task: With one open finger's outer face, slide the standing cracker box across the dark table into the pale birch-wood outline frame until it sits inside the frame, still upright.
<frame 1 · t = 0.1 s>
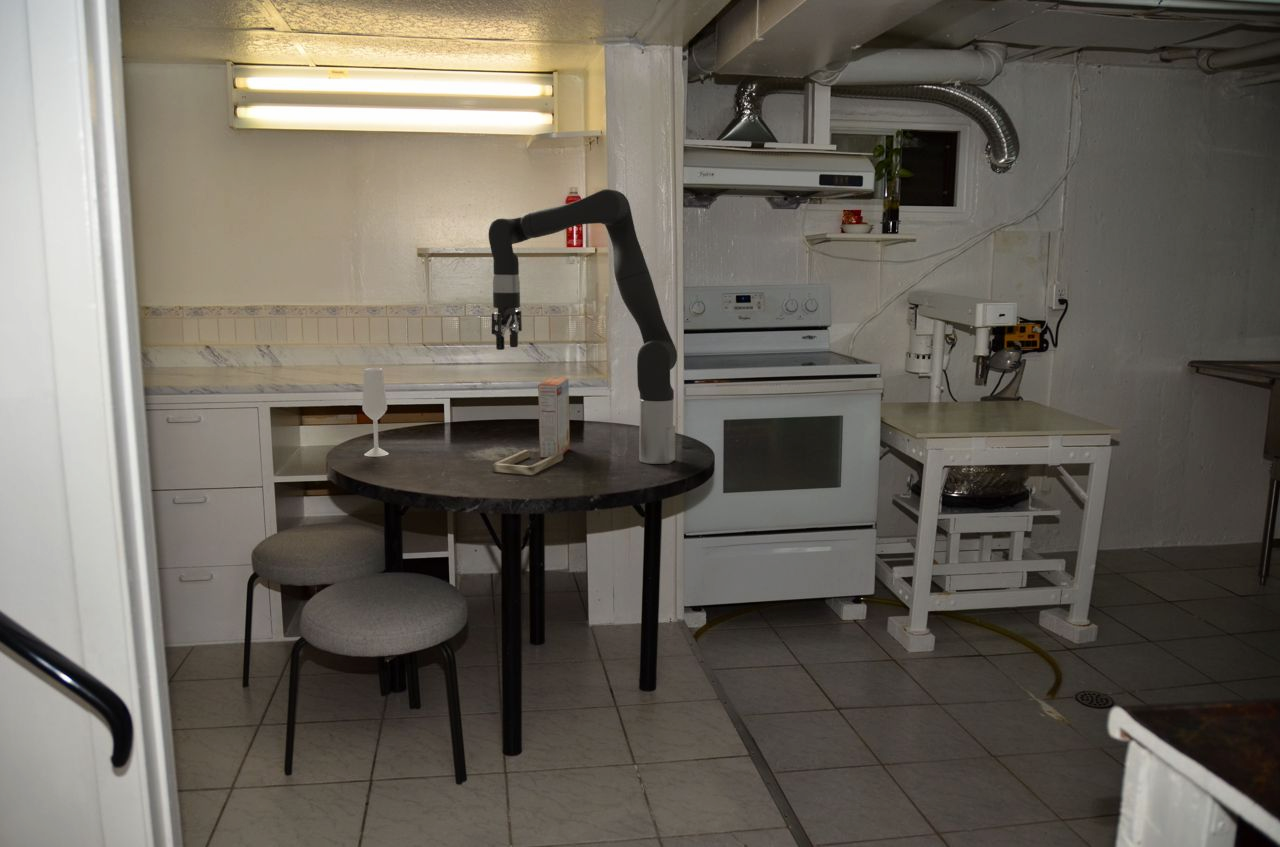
hand: (507, 348, 280), 29 cm above the table, fingers open, 8 cm apart
cracker box: (554, 454, 279), on the table
outline frame: (528, 465, 263), on the table
champagne flute: (376, 454, 276), on the table
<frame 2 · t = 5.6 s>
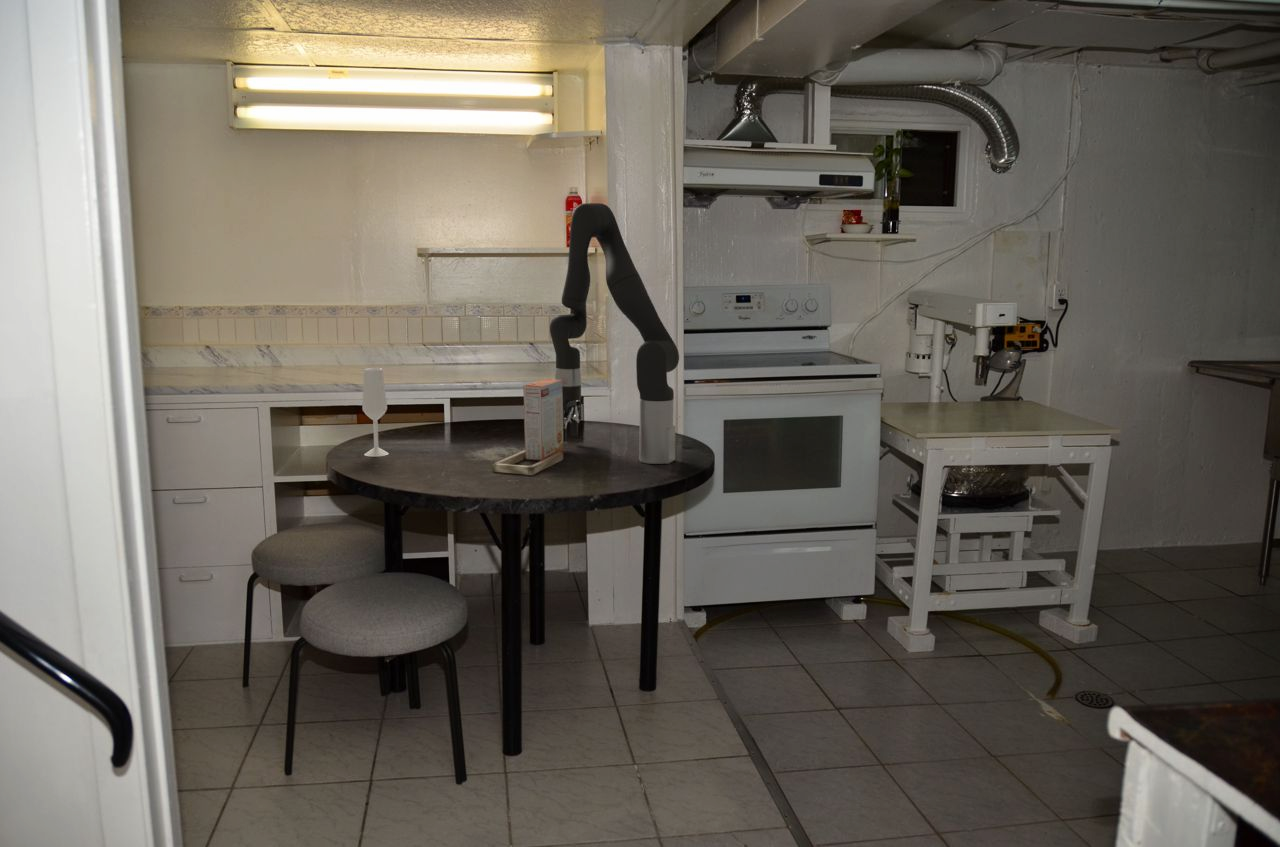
hand: (568, 438, 288), 3 cm above the table, fingers open, 8 cm apart
cracker box: (544, 456, 276), on the table, touching gripper, hand
everything else where it was.
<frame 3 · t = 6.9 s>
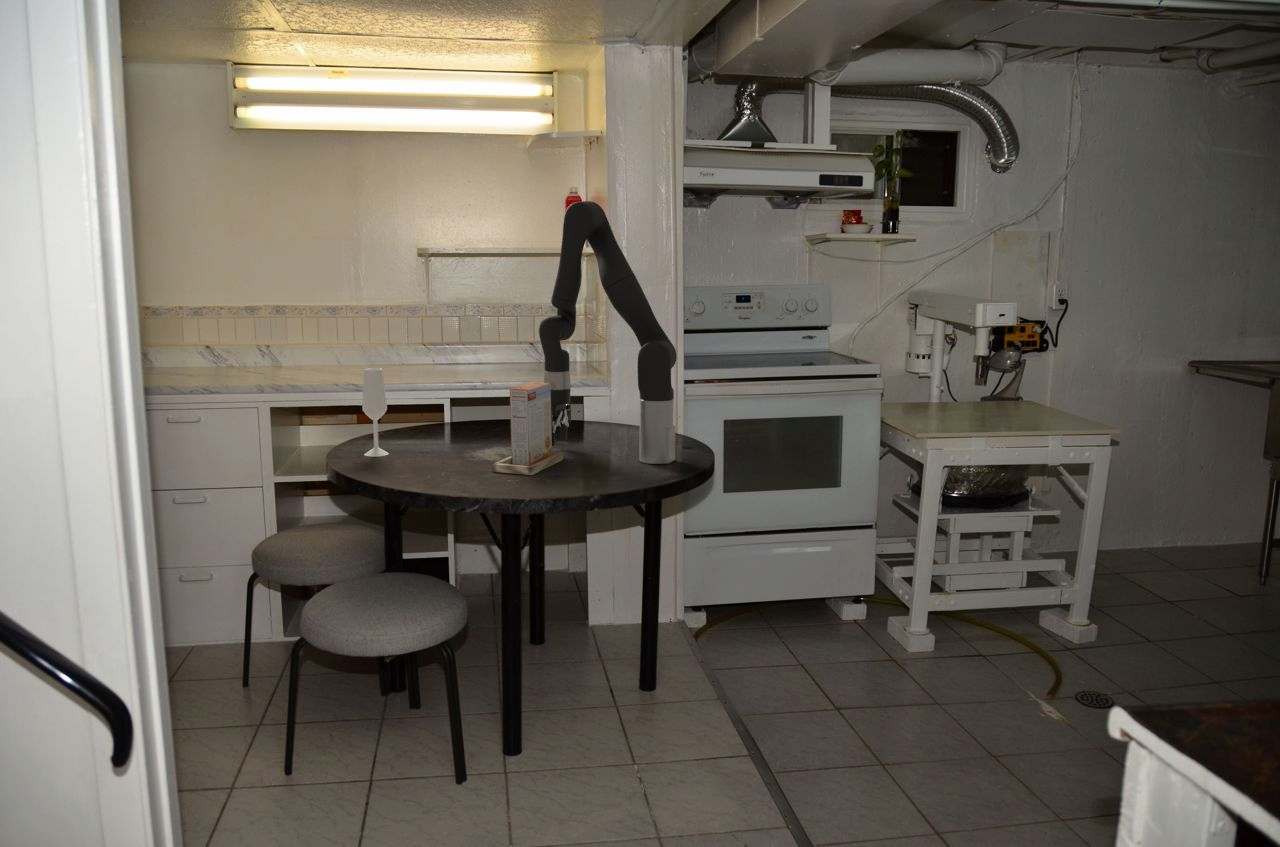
hand: (557, 442, 281), 3 cm above the table, fingers open, 8 cm apart
cracker box: (531, 461, 269), on the table, touching gripper, hand
everything else where it was.
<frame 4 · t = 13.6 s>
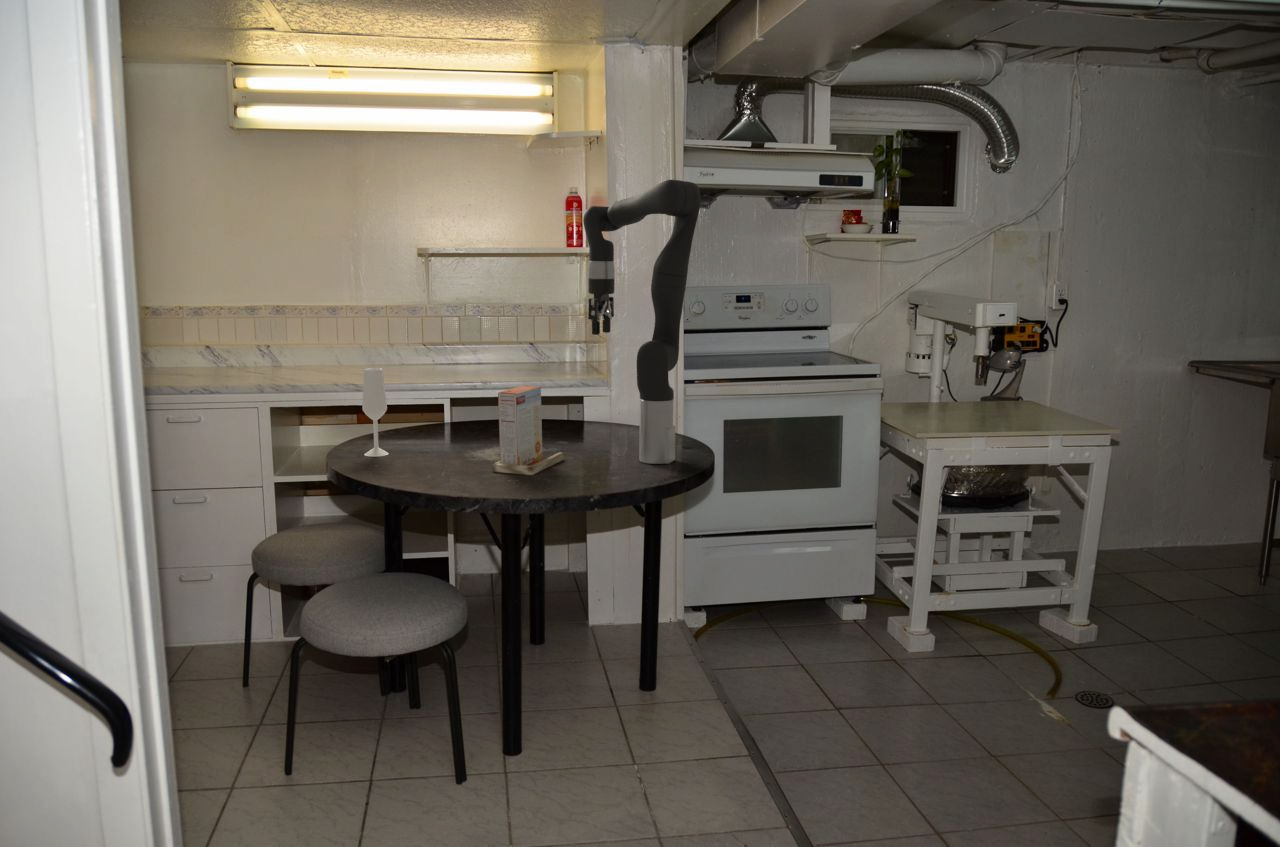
hand: (601, 333, 286), 33 cm above the table, fingers open, 8 cm apart
cracker box: (521, 466, 262), on the table
everything else where it was.
at the end: cracker box 2.2 cm off-centre on the outline frame, point 0.0 cm above the outline frame's base; cracker box tilted 0° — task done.
